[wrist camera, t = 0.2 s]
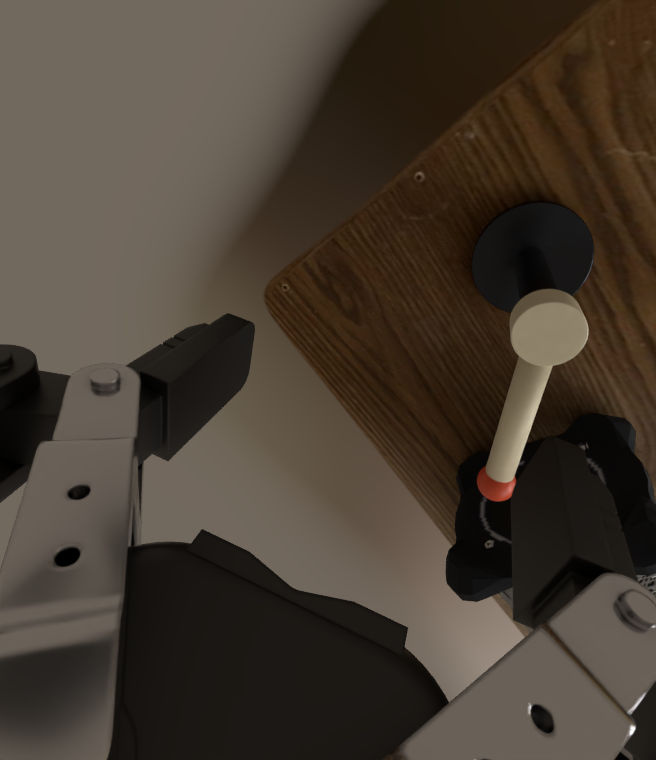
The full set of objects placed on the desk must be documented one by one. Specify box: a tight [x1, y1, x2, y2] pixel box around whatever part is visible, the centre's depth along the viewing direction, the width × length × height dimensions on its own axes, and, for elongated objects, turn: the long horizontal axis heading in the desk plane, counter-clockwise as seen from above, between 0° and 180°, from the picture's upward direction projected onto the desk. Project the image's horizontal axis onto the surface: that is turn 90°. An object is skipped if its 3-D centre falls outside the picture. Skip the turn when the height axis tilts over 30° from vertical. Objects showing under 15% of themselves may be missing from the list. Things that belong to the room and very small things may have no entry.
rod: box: [477, 289, 588, 502], centre depth 23 cm, size 13×3×2 cm, turn 178°
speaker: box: [446, 413, 656, 760], centre depth 35 cm, size 15×28×15 cm, turn 38°
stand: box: [472, 200, 594, 313], centre depth 27 cm, size 8×8×13 cm
